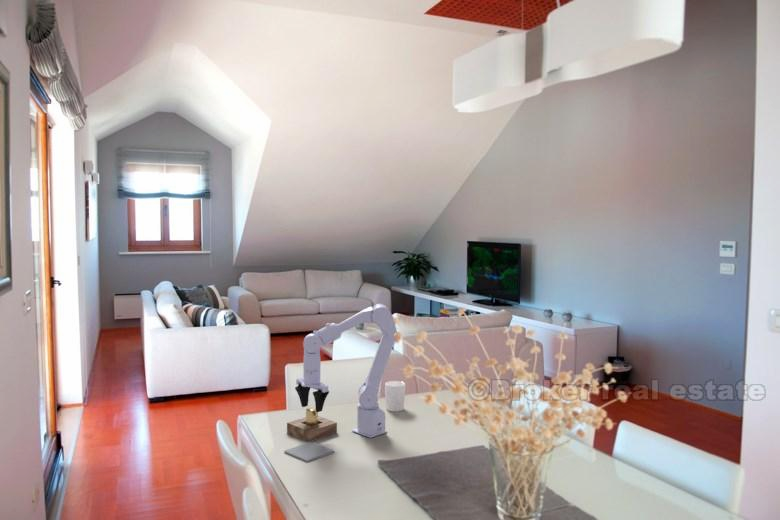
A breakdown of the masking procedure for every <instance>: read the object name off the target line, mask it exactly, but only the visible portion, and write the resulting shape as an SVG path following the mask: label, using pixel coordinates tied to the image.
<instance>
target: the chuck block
mask: <svg viewBox="0 0 780 520" xmlns="http://www.w3.org/2000/svg"><path fill="white" fill-rule="evenodd" d="M336 432H337V433H338V422H336V421H334V420H330V419H328V418H324V417H322V416H319V415H318V424H317V425H314V426H308V425H306V416H305V417H301V418H297V419H295V420H292V421H289V422H286V433H287V434H289V435H291V434H292V435H291V436H294V437H296V436H297V438H300V439H301V440H304V439H305V440H304V441H307V442H309V441H310V442H313V441H316V440H319V439H322V438H324V436H325V437H328V436H330V435H334V434H336ZM333 433H334V434H333ZM321 437H322V438H321ZM318 438H319V439H318ZM315 439H316V440H315ZM312 440H313V441H312Z"/></svg>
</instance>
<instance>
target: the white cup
mask: <svg viewBox="0 0 780 520" xmlns="http://www.w3.org/2000/svg"><path fill="white" fill-rule="evenodd" d="M384 395H385V396H384V397H385V410H387V411H389V412H393V413H395V412H397V413H398V412H401V411H402V412H403V411H404V408H405V397H406V396H405V395H406V383H405V382H404V381H400V380H389V381H386V382H385V383H384Z"/></svg>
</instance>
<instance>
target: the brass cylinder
mask: <svg viewBox="0 0 780 520" xmlns="http://www.w3.org/2000/svg"><path fill="white" fill-rule="evenodd" d="M318 416H319V412H316V407H310V408H306V409H305V417H306V425H308V426H314V425H317V424H318Z"/></svg>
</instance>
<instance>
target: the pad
mask: <svg viewBox="0 0 780 520" xmlns="http://www.w3.org/2000/svg"><path fill="white" fill-rule="evenodd" d="M283 452H284V453H285V454H286V455H289V456H291V457H294V458H295V459H298V460H301V461H303V462H306V463H309V462H312V461H315V460H317V459H319V458H323V457H325V456H328V455H330V454H331V455H332V454H333V452H334V453H335V450H334V449H332V448H330V447H328V446H327V447H326V446H324V445H321V444H320V443H316V442H314V441H310V442H309V441H308V442H306V443H303V444H300V445H297V446H294V447H291V448H288V449H286V450H284V451H283Z"/></svg>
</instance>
